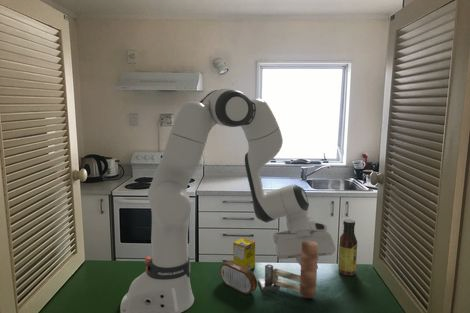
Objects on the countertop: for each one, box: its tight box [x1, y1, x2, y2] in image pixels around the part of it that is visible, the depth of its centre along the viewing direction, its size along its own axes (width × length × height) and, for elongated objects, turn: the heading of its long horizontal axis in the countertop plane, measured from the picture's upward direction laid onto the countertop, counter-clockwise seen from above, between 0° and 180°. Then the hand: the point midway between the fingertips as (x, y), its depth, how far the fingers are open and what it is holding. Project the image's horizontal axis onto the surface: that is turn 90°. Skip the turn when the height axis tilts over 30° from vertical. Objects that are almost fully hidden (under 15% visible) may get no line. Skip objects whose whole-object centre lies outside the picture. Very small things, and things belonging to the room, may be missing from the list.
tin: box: [219, 260, 258, 295], centre depth 117 cm, size 15×3×8 cm, turn 47°
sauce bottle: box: [338, 219, 358, 277], centre depth 127 cm, size 6×6×20 cm
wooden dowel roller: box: [273, 241, 318, 299], centre depth 113 cm, size 15×5×17 cm, turn 57°
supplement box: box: [232, 237, 256, 271], centre depth 130 cm, size 6×6×11 cm
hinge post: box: [257, 264, 281, 292], centre depth 119 cm, size 6×6×7 cm
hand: (310, 269), depth 114 cm, fingers open, 2 cm apart
